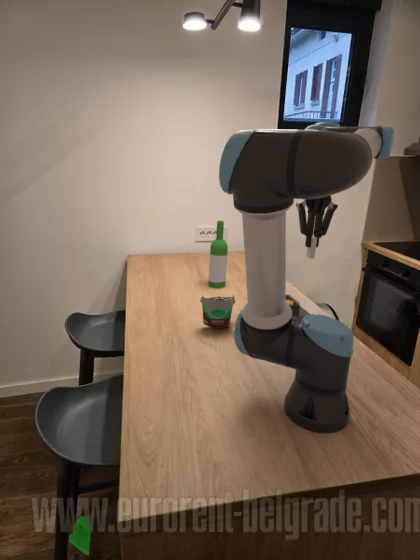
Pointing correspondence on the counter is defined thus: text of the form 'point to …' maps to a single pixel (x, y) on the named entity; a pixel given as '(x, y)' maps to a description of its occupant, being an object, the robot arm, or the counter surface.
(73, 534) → the mechanical part
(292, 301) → the button
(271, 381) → the counter surface
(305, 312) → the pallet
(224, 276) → the wine bottle
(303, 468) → the counter surface
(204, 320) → the food container
